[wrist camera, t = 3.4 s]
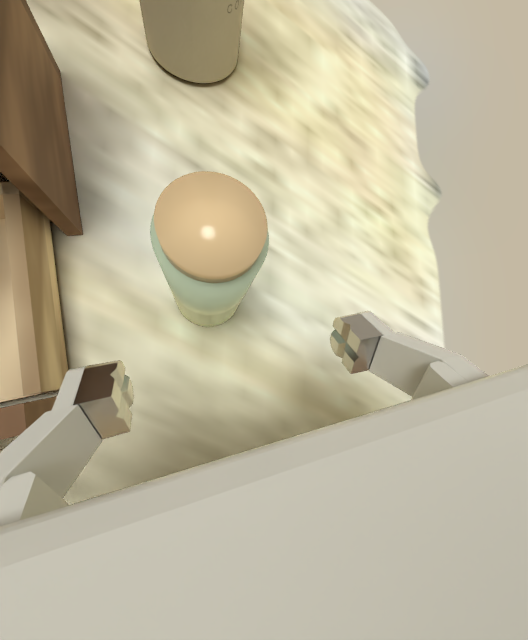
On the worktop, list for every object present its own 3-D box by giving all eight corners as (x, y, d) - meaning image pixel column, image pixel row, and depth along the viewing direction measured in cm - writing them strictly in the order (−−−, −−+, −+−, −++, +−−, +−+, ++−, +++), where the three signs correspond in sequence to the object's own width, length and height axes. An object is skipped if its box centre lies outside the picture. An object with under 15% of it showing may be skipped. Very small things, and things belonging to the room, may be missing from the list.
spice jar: (182, 332, 20) (156, 292, 9) (171, 271, 20) (135, 166, 10) (244, 320, 21) (286, 273, 10) (232, 263, 21) (260, 162, 11)
